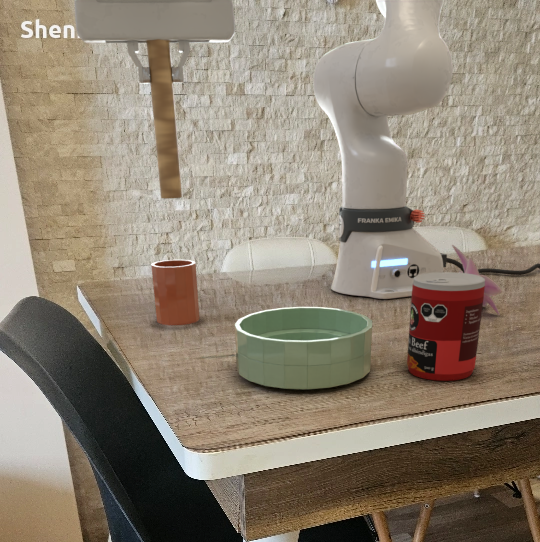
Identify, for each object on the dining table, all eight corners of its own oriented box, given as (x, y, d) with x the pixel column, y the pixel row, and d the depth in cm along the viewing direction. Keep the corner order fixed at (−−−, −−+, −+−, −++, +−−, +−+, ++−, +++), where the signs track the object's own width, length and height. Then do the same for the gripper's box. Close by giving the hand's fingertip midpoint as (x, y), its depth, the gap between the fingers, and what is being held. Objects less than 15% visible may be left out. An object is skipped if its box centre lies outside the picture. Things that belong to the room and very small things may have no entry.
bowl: (349, 348, 90) (350, 303, 87) (388, 388, 76) (391, 336, 73) (230, 356, 87) (228, 311, 85) (247, 399, 73) (244, 346, 71)
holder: (198, 316, 108) (193, 258, 103) (201, 326, 102) (196, 266, 97) (156, 319, 107) (151, 260, 102) (157, 329, 101) (151, 268, 97)
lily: (493, 333, 98) (528, 272, 96) (422, 298, 99) (454, 237, 97) (484, 337, 110) (514, 282, 108) (420, 305, 111) (449, 251, 109)
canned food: (399, 363, 83) (405, 273, 78) (461, 360, 84) (471, 270, 79) (416, 383, 77) (424, 286, 71) (483, 380, 77) (496, 283, 72)
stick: (181, 196, 96) (168, 31, 87) (182, 198, 94) (169, 28, 85) (160, 197, 96) (145, 31, 87) (161, 198, 93) (145, 28, 84)
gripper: (230, -41, 86) (235, 83, 93) (69, -42, 83) (85, 85, 90) (236, -53, 81) (241, 80, 87) (63, -55, 78) (82, 82, 84)
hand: (161, 83), depth 88 cm, fingers closed on stick, 3 cm apart
